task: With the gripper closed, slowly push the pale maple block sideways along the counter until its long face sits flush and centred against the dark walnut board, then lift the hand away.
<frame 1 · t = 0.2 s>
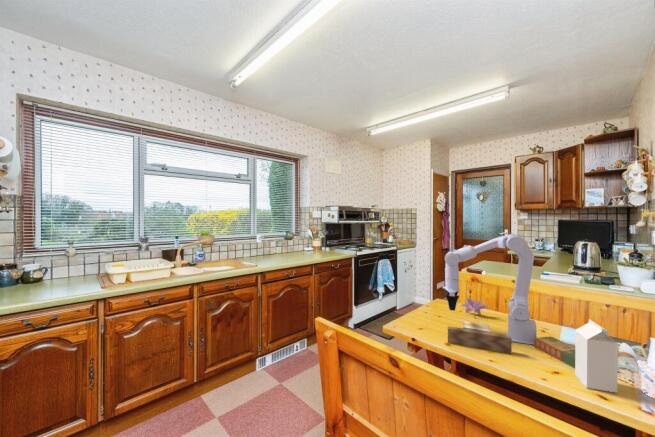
hand: (452, 307, 125), 10 cm above the table, tool pointing down, fingers open, 7 cm apart
walnut board: (478, 346, 107), on the table
milk carton: (595, 384, 84), on the table
lily: (474, 316, 140), on the table
maple block: (476, 337, 116), on the table
carton: (563, 358, 99), on the table
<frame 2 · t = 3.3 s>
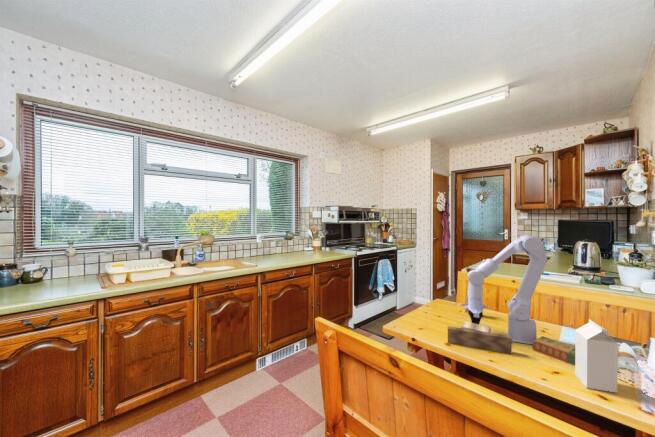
hand: (475, 327, 120), 2 cm above the table, tool pointing down, fingers closed
maple block: (475, 338, 115), on the table, touching gripper
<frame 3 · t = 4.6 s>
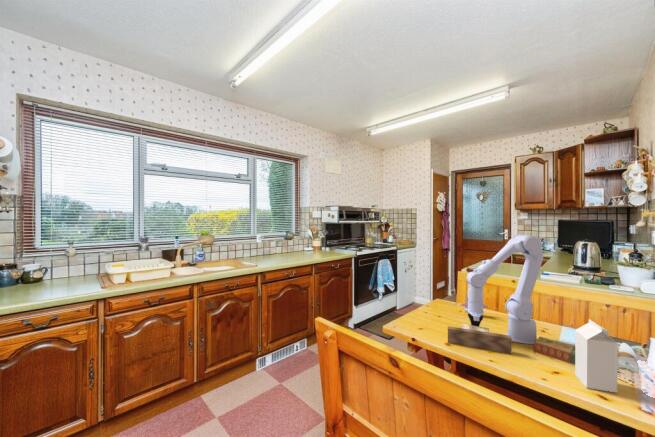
hand: (475, 331, 116), 2 cm above the table, tool pointing down, fingers closed, pressing on maple block
maple block: (474, 340, 112), on the table, touching gripper, walnut board
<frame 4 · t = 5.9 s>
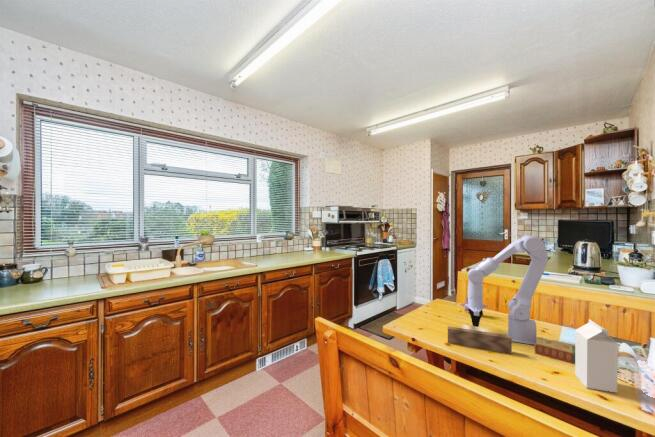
hand: (475, 326, 120), 3 cm above the table, tool pointing down, fingers closed
maple block: (474, 341, 112), on the table
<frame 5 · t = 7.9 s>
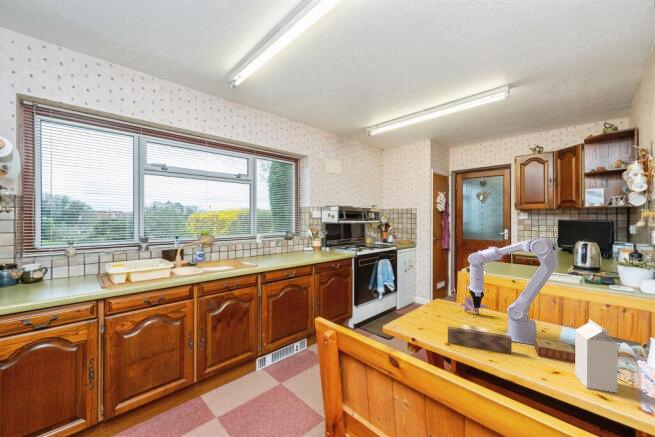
hand: (476, 307, 125), 9 cm above the table, tool pointing down, fingers closed
at the end: maple block 0.7 cm from the target spot on the table beside the walnut board, on the table; maple block tilted 0° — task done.
